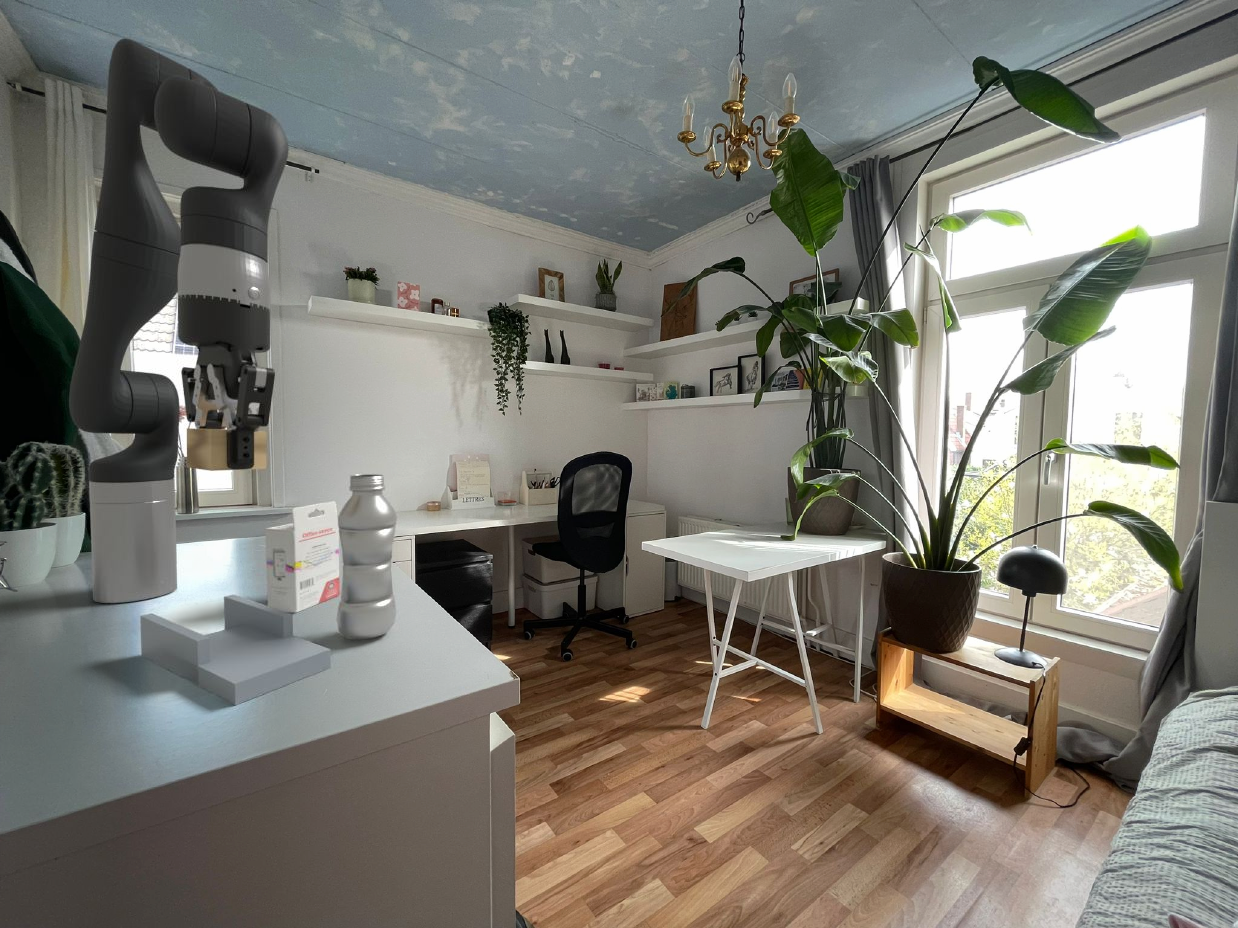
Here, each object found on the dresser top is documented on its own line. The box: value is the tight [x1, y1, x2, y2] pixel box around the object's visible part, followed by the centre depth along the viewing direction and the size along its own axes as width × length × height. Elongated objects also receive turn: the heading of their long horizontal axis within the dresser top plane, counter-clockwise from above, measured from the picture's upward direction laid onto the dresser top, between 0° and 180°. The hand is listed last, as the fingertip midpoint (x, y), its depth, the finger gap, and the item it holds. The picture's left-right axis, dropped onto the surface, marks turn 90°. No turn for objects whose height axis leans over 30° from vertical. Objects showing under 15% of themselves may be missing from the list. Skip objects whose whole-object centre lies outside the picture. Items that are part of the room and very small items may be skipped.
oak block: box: [186, 427, 267, 472], centre depth 54 cm, size 5×5×4 cm
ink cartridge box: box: [264, 500, 341, 614], centre depth 75 cm, size 9×5×15 cm, turn 168°
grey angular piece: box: [139, 594, 331, 706], centre depth 56 cm, size 20×9×4 cm, turn 61°
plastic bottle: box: [336, 473, 398, 640], centre depth 63 cm, size 6×7×20 cm
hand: (226, 465), depth 54 cm, fingers closed on oak block, 5 cm apart
